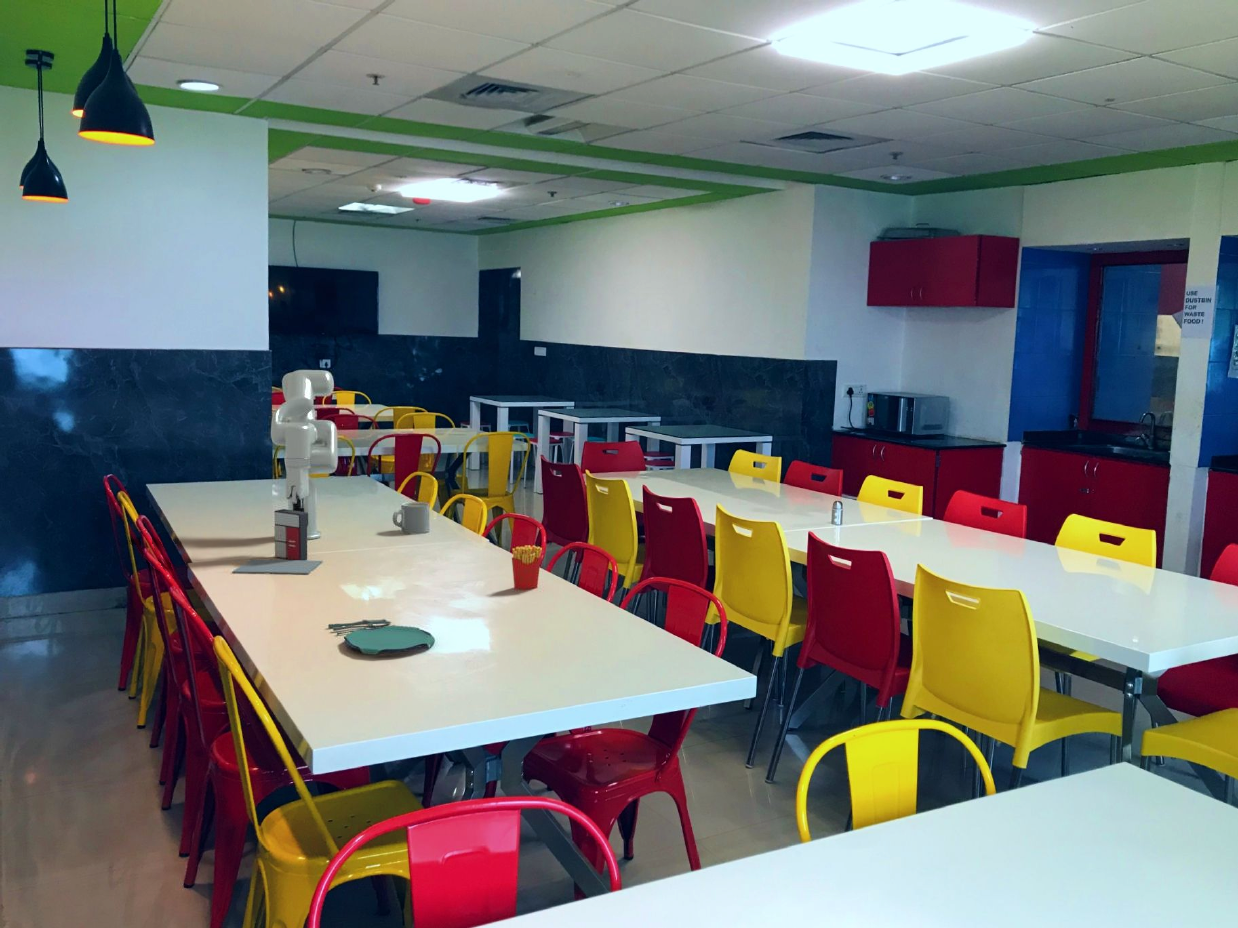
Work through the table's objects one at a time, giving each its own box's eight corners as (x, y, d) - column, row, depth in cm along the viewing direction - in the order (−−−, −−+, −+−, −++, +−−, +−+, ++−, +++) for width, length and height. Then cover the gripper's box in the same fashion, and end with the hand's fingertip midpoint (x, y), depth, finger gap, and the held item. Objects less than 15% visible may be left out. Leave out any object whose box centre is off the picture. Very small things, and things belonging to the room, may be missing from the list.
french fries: (513, 590, 286) (514, 548, 284) (510, 586, 289) (510, 545, 288) (542, 588, 289) (543, 547, 287) (538, 584, 292) (539, 544, 291)
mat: (251, 560, 313) (250, 559, 313) (322, 562, 313) (322, 560, 313) (232, 573, 297) (232, 571, 297) (308, 574, 298) (308, 572, 298)
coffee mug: (426, 528, 372) (426, 501, 371) (432, 533, 363) (432, 505, 362) (389, 530, 367) (389, 502, 366) (394, 535, 358) (394, 507, 357)
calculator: (273, 557, 318) (272, 510, 316) (283, 555, 322) (282, 508, 320) (298, 562, 313) (298, 514, 311) (309, 559, 317) (308, 512, 315)
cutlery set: (362, 663, 220) (362, 653, 220) (319, 631, 245) (319, 621, 244) (446, 651, 231) (446, 641, 231) (397, 620, 256) (397, 611, 255)
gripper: (293, 460, 330) (293, 516, 332) (279, 465, 315) (279, 523, 317) (316, 461, 330) (316, 516, 332) (303, 465, 315) (303, 523, 317)
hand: (298, 519), depth 325 cm, fingers closed
